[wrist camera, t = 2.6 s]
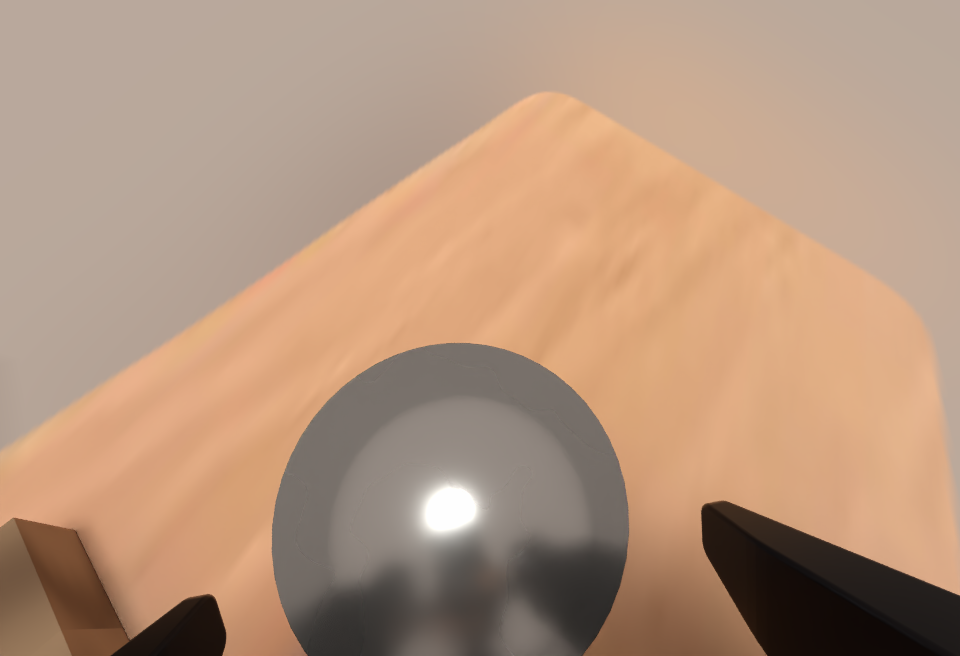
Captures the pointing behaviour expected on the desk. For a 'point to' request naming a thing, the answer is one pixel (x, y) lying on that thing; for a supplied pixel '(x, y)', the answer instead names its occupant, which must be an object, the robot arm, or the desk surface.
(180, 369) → the desk surface
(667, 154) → the desk surface
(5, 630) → the brown picture frame
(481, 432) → the chrome banded cylinder
